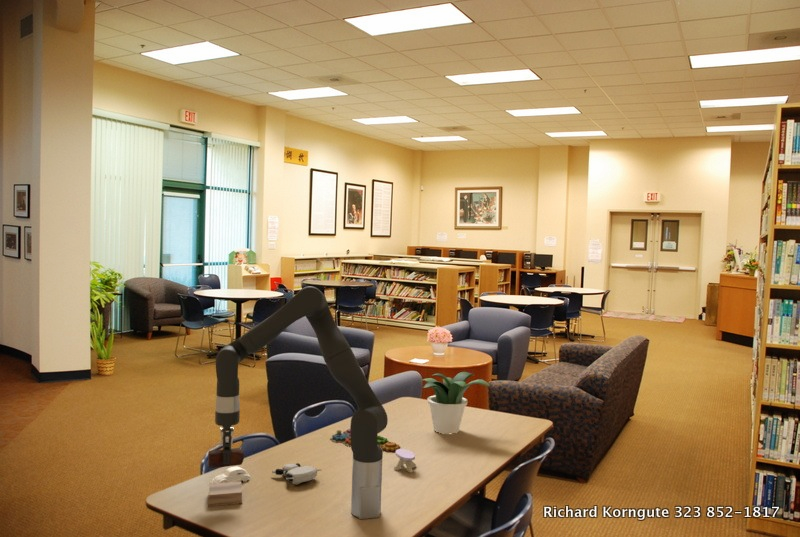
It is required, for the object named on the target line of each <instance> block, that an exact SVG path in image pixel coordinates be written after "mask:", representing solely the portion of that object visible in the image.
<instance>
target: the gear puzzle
mask: <svg viewBox="0 0 800 537" xmlns="http://www.w3.org/2000/svg"><path fill="white" fill-rule="evenodd" d="M329 441H331V442H332V443H334V444H336V443H340V444H343V445H344V446H345V447H348V446H349V447H351V437H350V428H348V429H346V430H345V431H344V430H343V432H342V430H340V429H337V430H336V433H335V434H332V436H331V437H330V438H329ZM377 443H378V446H379V447H381V448H382V451H383V450H385V451H386V452H388V451H391V452H394V451H396V450H398V449H402V448H401V446H400V444H397V443H396V442H392V441H390V440H388V438H386V437H383V436H381V435H377Z"/></svg>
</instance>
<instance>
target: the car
mask: <svg viewBox="0 0 800 537" xmlns="http://www.w3.org/2000/svg"><path fill="white" fill-rule="evenodd" d="M249 479H251V475H250V474H249V473H248V472H247V470H246V469H244V468H242V467H240V466H230V467H228V468H227V469H225V470H224V471H223V472H222V473H221V474H219V475H216V476H214V477H213V479H212V481H211V482H212V483H213V484H214V483H227V482H240V481H241V482H244V481H245V482H248V481H249ZM247 480H248V481H247Z"/></svg>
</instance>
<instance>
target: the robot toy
mask: <svg viewBox="0 0 800 537" xmlns="http://www.w3.org/2000/svg"><path fill="white" fill-rule="evenodd" d="M318 471H323V470H322V468H321V469H317V468H315V467H313V466H311V465H304V466H301V464H300V463H298V462H297V463H287V464H284V465H282V469H281V468H276V469H273V470H272V471H271V473H272V474H275V475H276V476H282V475H283V476H284V477H285V476H286V477H285V480H287V481H288V482H290V483H292V484H293V485H300V484H301V483H304V482H309V481H311V480H314V479H315V478H316V477H317V476H318Z"/></svg>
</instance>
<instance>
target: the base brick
mask: <svg viewBox="0 0 800 537" xmlns="http://www.w3.org/2000/svg"><path fill="white" fill-rule="evenodd" d="M208 489H209V490H208V500H207V507H216V506H217V507H218V506H226V505H227V506H228V504H230V505H240V504H239V503H242V504H243V490H242V481H237V482H227V483H214V482H213V483H209V484H208Z"/></svg>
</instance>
